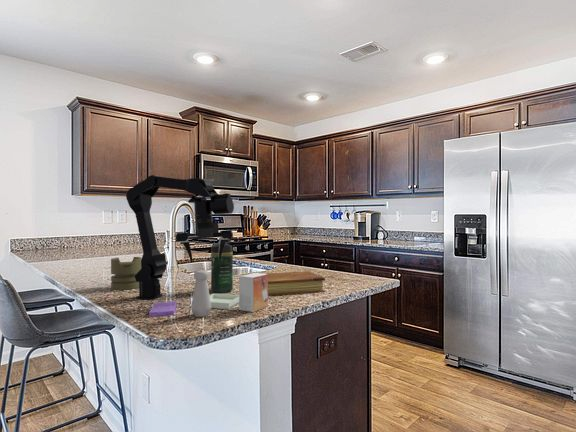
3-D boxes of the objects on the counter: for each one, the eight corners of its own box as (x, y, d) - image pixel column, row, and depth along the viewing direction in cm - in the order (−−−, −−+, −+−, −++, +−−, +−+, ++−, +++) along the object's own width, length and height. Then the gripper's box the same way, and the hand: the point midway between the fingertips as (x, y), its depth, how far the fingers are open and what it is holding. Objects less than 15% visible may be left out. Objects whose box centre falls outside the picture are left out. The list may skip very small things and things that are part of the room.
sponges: (148, 318, 104) (148, 312, 104) (154, 307, 117) (154, 301, 116) (174, 316, 106) (174, 310, 106) (176, 306, 118) (176, 300, 118)
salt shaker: (193, 319, 102) (193, 272, 101) (189, 314, 107) (188, 270, 107) (214, 316, 104) (213, 271, 104) (208, 311, 109) (208, 268, 109)
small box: (253, 312, 108) (252, 277, 108) (238, 310, 111) (238, 275, 111) (268, 306, 114) (268, 273, 114) (254, 304, 117) (254, 272, 117)
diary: (308, 284, 155) (308, 270, 155) (324, 293, 137) (324, 278, 137) (255, 287, 148) (255, 273, 148) (265, 296, 130) (265, 280, 130)
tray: (195, 306, 115) (195, 301, 115) (213, 298, 126) (213, 293, 126) (228, 309, 112) (228, 303, 112) (243, 300, 123) (243, 295, 123)
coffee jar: (235, 292, 137) (234, 243, 137) (214, 294, 134) (213, 243, 134) (229, 287, 146) (229, 241, 146) (209, 289, 143) (209, 242, 143)
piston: (142, 259, 144) (110, 260, 139) (142, 289, 144) (110, 292, 139) (140, 256, 154) (111, 257, 149) (141, 284, 154) (111, 286, 149)
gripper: (174, 216, 113) (176, 265, 113) (233, 213, 118) (236, 260, 118) (175, 216, 124) (177, 262, 124) (229, 214, 129) (232, 258, 129)
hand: (205, 260), depth 123 cm, fingers open, 9 cm apart
